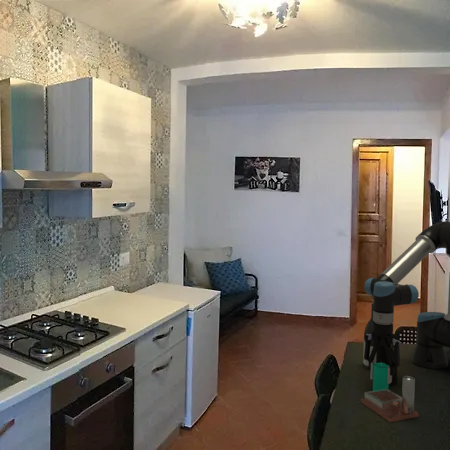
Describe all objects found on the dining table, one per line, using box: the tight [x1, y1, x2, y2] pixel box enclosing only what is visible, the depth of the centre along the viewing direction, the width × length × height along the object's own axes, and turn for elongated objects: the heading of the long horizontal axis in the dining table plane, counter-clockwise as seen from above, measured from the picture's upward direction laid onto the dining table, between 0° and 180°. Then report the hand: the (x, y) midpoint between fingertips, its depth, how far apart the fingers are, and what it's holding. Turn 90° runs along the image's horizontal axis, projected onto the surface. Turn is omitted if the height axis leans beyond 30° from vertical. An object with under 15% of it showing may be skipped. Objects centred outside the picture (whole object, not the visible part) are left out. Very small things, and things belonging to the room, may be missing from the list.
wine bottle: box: [362, 299, 376, 371], centre depth 210 cm, size 8×8×30 cm
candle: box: [372, 361, 390, 391], centre depth 186 cm, size 6×6×12 cm
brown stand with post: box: [360, 375, 420, 423], centre depth 171 cm, size 12×16×14 cm
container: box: [376, 333, 400, 387], centre depth 195 cm, size 9×9×20 cm
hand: (380, 380), depth 186 cm, fingers closed on candle, 6 cm apart
